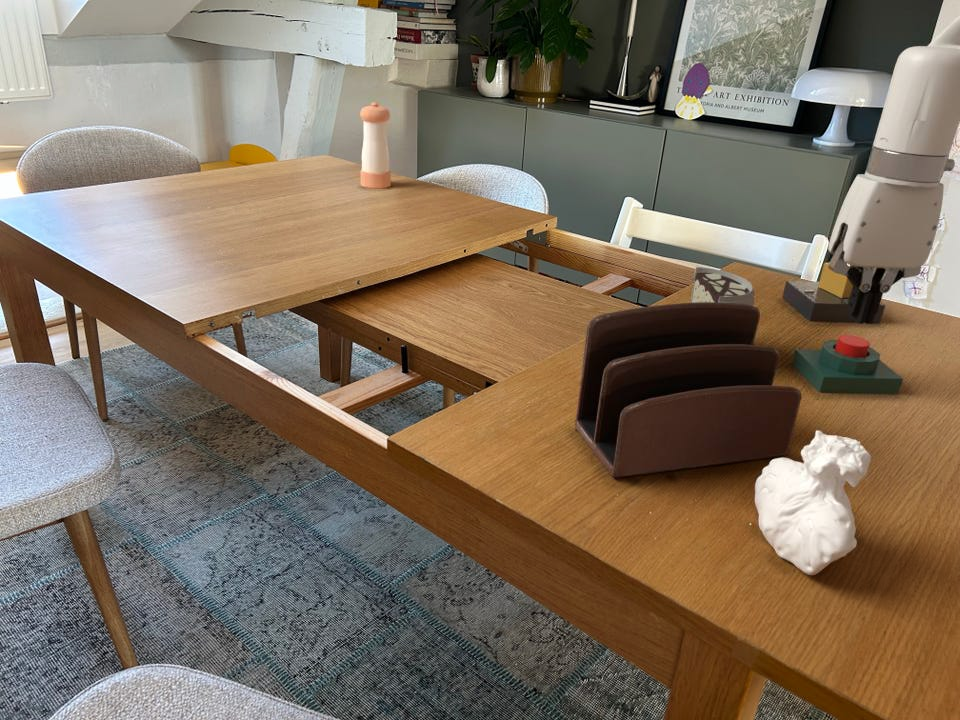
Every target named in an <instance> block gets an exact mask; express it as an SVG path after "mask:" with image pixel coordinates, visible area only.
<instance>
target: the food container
mask: <svg viewBox="0 0 960 720" xmlns="http://www.w3.org/2000/svg"><path fill="white" fill-rule="evenodd" d="M692 281H693V284H692V291H691V298H690V303H694V302H721V303H736V304H746V305H751V306H754V305H755V290H754V289H753V288H754V287H753V285H752V283H751V282H750V281H749V280H748V279H746V278H745V277H743V276H740V275H737V274H735V273H732V272H729V271H725V270H721V269H716V268H710V267H701V266H696V267H695V270H694V273H693V277H692ZM754 307H755V306H754Z"/></svg>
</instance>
